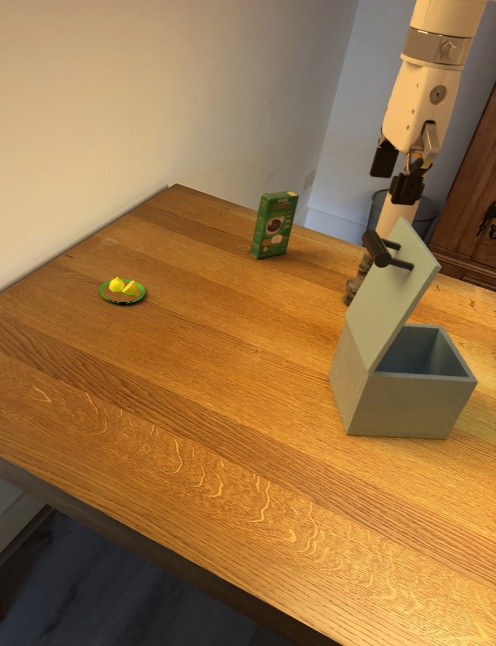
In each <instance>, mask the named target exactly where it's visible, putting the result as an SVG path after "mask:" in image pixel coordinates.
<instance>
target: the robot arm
mask: <svg viewBox="0 0 496 646" xmlns="http://www.w3.org/2000/svg"><path fill="white" fill-rule="evenodd" d="M489 1H490V0H416V1H415V5H414V9H413V12H412V15H411V19H410V22H409V27H408V29H407V33H406V36H405V40H404V42H403V43H404V44H403V46H402V47H403V48H402V50H401V53H400V57H399V58H400V59H401V60H402V63H401V66H400V68H399V70H398V73H397V77H396V80H395V82H394V85H393V88H392V90H391V93H390V97H389V99H388V103H387V106H386V107H385V110H384V115H383V121H382V125H381V126H380V136H379V138H378V139H377V144H376V145H377V147H376V150H375V152H374V156H373V160H372V164H371V167H370V170H369V175H370V177H372V178H379V179H380V178H381V179H391V178H392V177H393V173H394V170H395V167H396V164H397V160H398V157H399V154H400V153H401V154H402V155H403V163H402V164H403V165H402V166H403V167H402V172H399V173H398V175H397V176H398V179H397V182H396V185H395V188H394V191H393V194H392V197H391V203H392V204H397V205H409V206H412V205H414V204H415V201H416V199H417V196H418V193H419V190H420V188H421V185H422V183H424V182H423V181H424V179H425V178H427V176H428V174H429V170H430V169H432V167H433V165H434V161H435V160H436V159H437V157H438V156H439V154H440V152H441V148H442V145H443V142H444V139H445V137H446V133H447V130H448V127H449V124H450V120H451V117H452V114H453V110H454V107H455V103H456V100H457V96H458V91H459V87H460V81H461V76H462V70H464V68H465V65H466V61H467V59H468V56H469V54H470V50H471V48H472V45H473V42H474V39H475V37H476V34H477V31H478V28H479V25H480V22H481V20H482V18H483V14H484V12H485V8H486V6H487V3H488V2H489ZM491 1H492V2H495V3H496V0H491ZM413 158H415V160H414V161H413Z"/></svg>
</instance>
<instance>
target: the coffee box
mask: <svg viewBox="0 0 496 646" xmlns="http://www.w3.org/2000/svg"><path fill="white" fill-rule="evenodd" d="M299 199H300V195H299V194H298V193H296V192H295V191H293V190H285V191H277V192H265V193H261V194H260V199H259V204H258V210H257V216H256V220H255V226H254V232H253V237H252V241H251V247H250V253H249V254H250V255H251V256H252V257H253V258H254V259H257V260H258V259H265V258H268V257H273V256H280V255H284V254H286V253H287V251H288V246H289V243H290V236H291V232H292V229H293V223H294V220H295V216H296V210H297V207H298V203H299Z"/></svg>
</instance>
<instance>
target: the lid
mask: <svg viewBox="0 0 496 646" xmlns="http://www.w3.org/2000/svg"><path fill="white" fill-rule="evenodd" d="M375 230H376V229H372V228H371V229H367V230H365V231H364V232H363V233H362V235H361V242H362V243H363V245H364V247H365V249H366V250H367V251H368V253H369V254H370V256H371V258H372V260H373V262H374V263H373V265H372V267H371V269H370V270H369V272H368V274H367V276H366V277H365V279H364V281H363V283H362V285H361V286H360V288H359V290H358V292H357V293H356V295H355V297H354V299H353V301H352V302H351V304H350V306H349V307H347V310H346V311H345V313H344V319H345V320H347V323H348V325H349V328H350V330H351V333H352V335H353V338H354V340H355V343H356V345H357V348H358V350H359V352H360V355H361V357H362V360H363V362H364V365H365V367H366V370H367V372H371V373H373V371H374V370H375V368H376V367H377V365H378V364H379V362H380V361H381V359H382V358H383V356H384V355H385V353H386V352H387V350H388V349H389V347H390V345H391V344H392V342H393V341H394V339H395V338H396V336H397V335H398V333H399V332H400V330H401V329H402V327H403V326H404V324H405V323H407V321H408V319H409V318H410V316H411V315H412V313H413V312H414V310H415V309H416V307H417V306H418V304H419V303H420V301H421V299H422V298H423V296H424V295H425V294H426V292H427V291H428V289H429V287H430V286H431V285H432V283H433V281H434V280H435V279H436V277H437V275H438V274H439V272H440V270H441V269H442V266H441V264H440V263H439V262H438V261H439V260H437V259H436V257H435V256H434V255H433V253H432V252H431V251H430V249H429V248H428V246H427V245H426V244H425V243H424V241H423V240H422V238H421V237H420V236H419V234H418V233H417V231H416V230H415V229H414V227H413V226H412V224H411V225H410V223H409V222H408V221H407V219H406V218H405V217H402V216H400V217H399V219H398V221H397V222H396V224H395V226H394V228H393V230H392V231H391V233H390V235H389V237H388V238H387V240H386V239H382V238H380V236H379V235H378V233H377V232H376V231H375Z"/></svg>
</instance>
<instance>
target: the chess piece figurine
mask: <svg viewBox="0 0 496 646" xmlns="http://www.w3.org/2000/svg"><path fill="white" fill-rule="evenodd" d="M373 263H374V262H373V260H372V258H371V256H370V254H369V253H368V251H367V249H366V250H365V251H364V252H363V256H362V257H361V262H360V263H359V264H358V265H357V273H356V276H355V277H354V278H353V277H352V278H349V279H347V280H346V281H345V286H346V287H345V289H346V293H347V294H345V295H344V296H343V297H342V302H343V304H344V305H345V306H347V308H349V306H350V304H351V302H352V301H353V299H354V297H355V295H356V293H357V292H358V290H359V288H360V286H361V285H362V283H363V281H364V279H365V277H366V276H367V274H368V272H369V270H370V269H371V267H372V265H373Z"/></svg>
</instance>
